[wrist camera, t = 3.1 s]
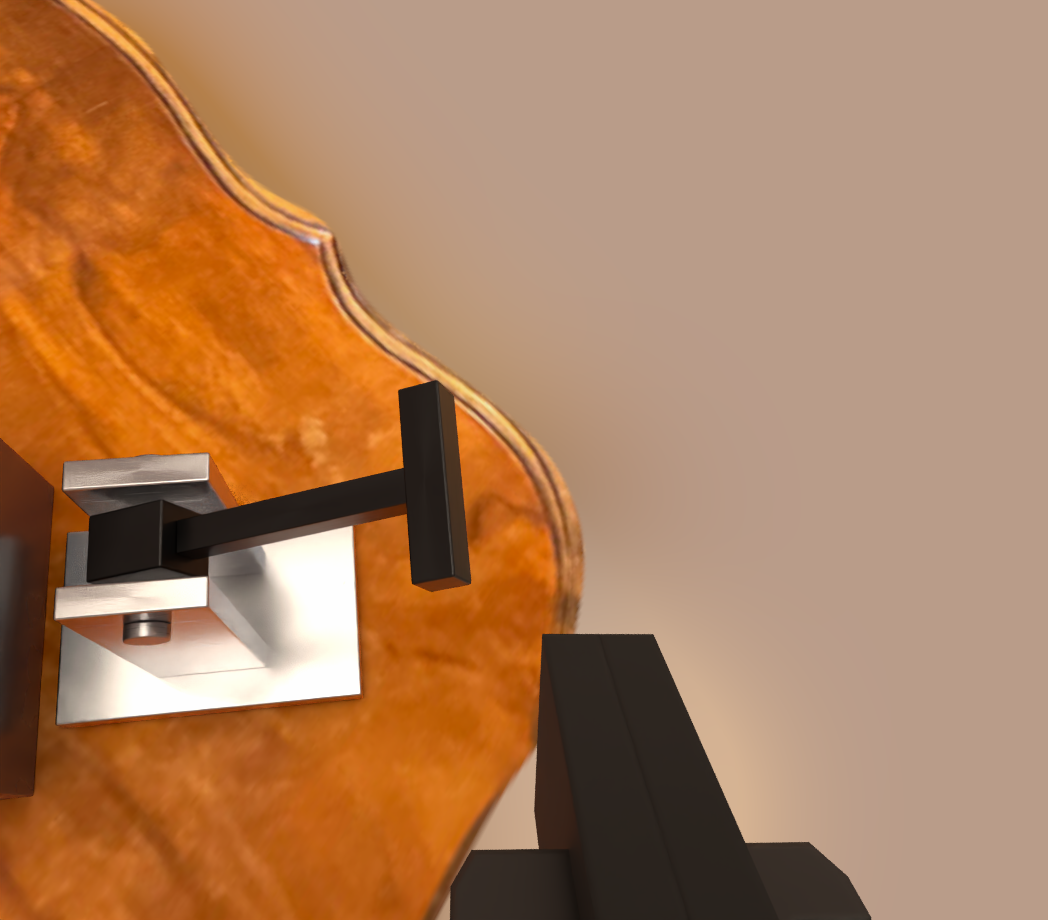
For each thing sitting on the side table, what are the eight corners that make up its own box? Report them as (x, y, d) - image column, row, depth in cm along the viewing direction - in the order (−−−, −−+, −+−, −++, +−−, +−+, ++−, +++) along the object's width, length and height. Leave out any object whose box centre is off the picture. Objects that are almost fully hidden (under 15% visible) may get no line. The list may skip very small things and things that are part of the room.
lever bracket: (354, 519, 43) (329, 401, 31) (363, 698, 40) (339, 645, 28) (75, 539, 41) (-65, 423, 29) (65, 728, 38) (-95, 685, 26)
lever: (461, 401, 29) (429, 371, 27) (479, 587, 27) (446, 572, 25) (142, 480, 33) (91, 460, 30) (136, 652, 31) (81, 644, 28)
